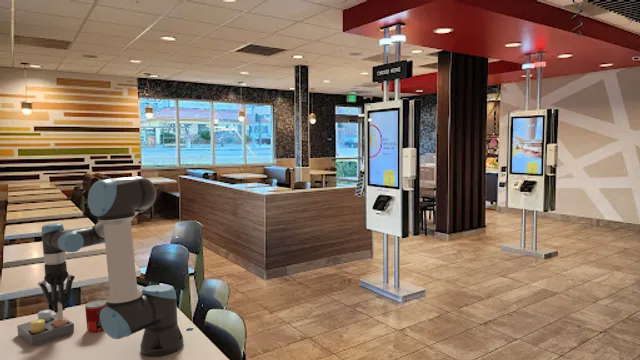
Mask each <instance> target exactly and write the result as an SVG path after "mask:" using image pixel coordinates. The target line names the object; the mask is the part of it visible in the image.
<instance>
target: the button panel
mask: <svg viewBox="0 0 640 360" xmlns="http://www.w3.org/2000/svg"><path fill="white" fill-rule="evenodd" d="M55 319H57V317H56V313H55V314H53V315H52V320H50V321H48V322H45V330H44V331H42V332H39V333H31V328H30V323H31V322H32V321H33V320H32V321H28V322H24V323H22V324H18V325H16V326H17V327H16V328H17V336H18V337H20V338H21V339H22V340H23V341H24V342H26V343H27V344H29V346H31V347H35V346H38V345H42V344H44V343H47V342H50V341H52V340H56V339H59V338H62V337H65V336H68V335H71V334H74V333H75V324H74V323H73V322H72V321H71V320H69V319H67V325H64V326H61V327H57V328H55V327H54V325H53V320H55Z"/></svg>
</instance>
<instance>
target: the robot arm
mask: <svg viewBox="0 0 640 360" xmlns="http://www.w3.org/2000/svg"><path fill="white" fill-rule="evenodd" d="M157 195H158V194H157V188H156V186H155V184H154V183H153V182H152V181H151V180H149V179H148V178H146V177H144V176H140V175H139V176H137V175H135V176H128V177H127V176H126V177H117V178H116V177H115V178H105V179H101V180H100V179H99V180H97V181H95V182H94V183H93V184H92V186H91V187H90V189H89V190H88V195H87V206H88V209H89V212H90V213H91V214H92V215H93V216H95V217H97V223H96V224H94V225H92V226H87V227H84V228H83V227H82V228H78V229H72V230H65V228H64V224H63V223H60V222H54V223H46V224H43V225H42V227H41V241H42V250H43V263H44V277H43V280H41V281H40V282H38V283H37V285H38V286H39V288H41V291H42V293H43V295H44V298H45V300H46V303H47V305H50V306H53V307H52V309H53V313H55V314H56V317H57V319H58V320H59V321H60V320H63V317H64V313H63V312H64V311H65V310H66V307H65V306H66V305H65V304H66V301H69V300H70V299H71V291H72V287H73V286H72V285H73V282H74V280H75V275H72V274H70V273H69V271H67V270H68V267H67V261H66V260H67V255H66V253H75V252H76V253H77V252H78V251H79V250H81V249H83V248H87V247H92V246H97V245H102V244H105V245H104V246H105V256H106V265H107V266H106V267H107V275H108V277H107V278H108V284H109V285H108V286H109V295H108V296H107V297H106V299H105V301H106V307H104V308H103V309H102V310H101V311H100V322H101V325H102V327H103V329H104V331H103V332H105V333H106V335H107V336H108V337H110V338H112V339H113V340H114V339H115V340H120V339H123V338H127V337H130V336H131V335H134V334H136V333H137V332H138V333H139V332H140V331H142V330H144V331H143V335H142V338H141V342H140V353H141V354H142V355H145V356H147V357H163V356H168V355H171V354H174V353H176V352H177V350H178V349H179V350H180V349H182V347H183V346H184V344H183V343H184V336H183V334H182V331H181V329H180V327H179V324H178V309H177V307H178V306H177V299H178V298H177V293H176V289H175V288H174V287H173V286H171V285H168V284H167V285H166V284H154V285H147V286H145V287H143V288H142V291H141V290H140V289H138V283H137V282H138V281H137V275H136V273H137V272H136V263H135V252H134V242H133V241H134V240H133V232H132V220H134V218H135V217H136V216H137V215H138V214H139V213H144V212H146V211H147V210H148V209H149V208H151V207H152V206H153V205H154V203H155V201H156V199H157ZM65 282H66V285H65ZM47 283H48V285H50V289H51V295H50V292H49V289H48V288H47ZM64 287H65V288H64ZM57 289H58V290H57ZM179 350H178V351H179ZM175 351H176V352H175ZM173 352H174V353H173Z"/></svg>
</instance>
